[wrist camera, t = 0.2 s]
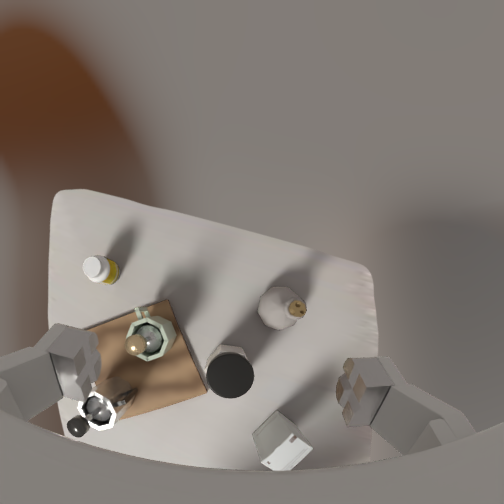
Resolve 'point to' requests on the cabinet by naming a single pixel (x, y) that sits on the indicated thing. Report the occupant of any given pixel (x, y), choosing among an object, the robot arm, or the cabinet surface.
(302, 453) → the skincare box
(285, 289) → the potion bottle
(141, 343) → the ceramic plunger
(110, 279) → the supplement bottle
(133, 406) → the serving board
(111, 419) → the steel press
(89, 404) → the steel plunger
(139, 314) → the pale green octagonal mug
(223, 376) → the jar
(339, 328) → the cabinet surface
